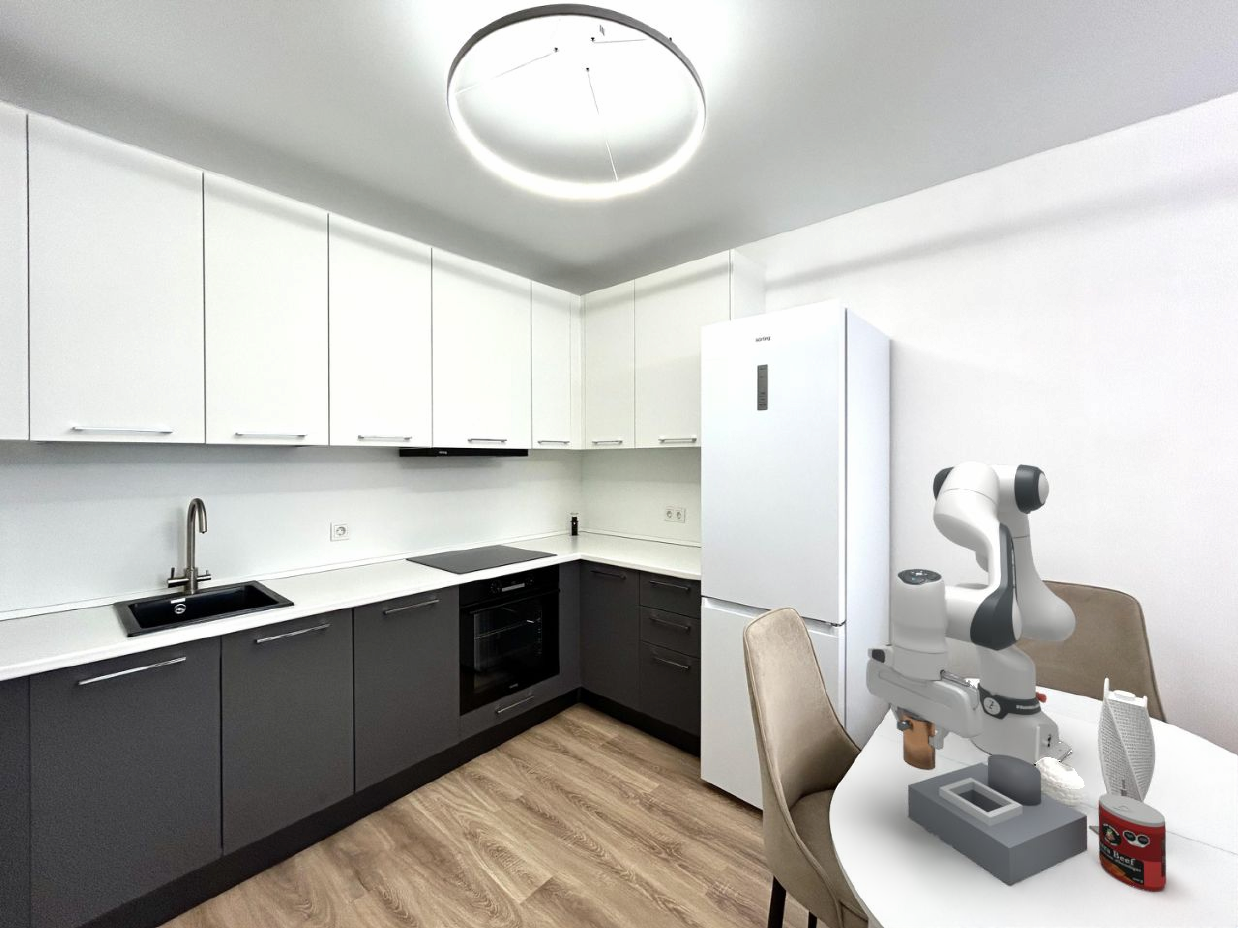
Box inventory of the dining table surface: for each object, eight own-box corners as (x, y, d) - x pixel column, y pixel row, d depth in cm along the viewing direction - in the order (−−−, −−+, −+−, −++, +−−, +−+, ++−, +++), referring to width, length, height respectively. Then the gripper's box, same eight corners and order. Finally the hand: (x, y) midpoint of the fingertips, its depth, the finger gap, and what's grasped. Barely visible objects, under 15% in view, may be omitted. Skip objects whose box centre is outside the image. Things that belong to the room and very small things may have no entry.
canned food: (1086, 858, 88) (1086, 793, 89) (1128, 856, 89) (1127, 792, 89) (1134, 894, 81) (1134, 823, 81) (1180, 891, 81) (1179, 821, 82)
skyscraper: (1082, 822, 98) (1081, 675, 98) (1125, 823, 97) (1124, 676, 98) (1124, 854, 89) (1122, 693, 90) (1172, 856, 89) (1170, 695, 90)
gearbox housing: (981, 791, 107) (981, 738, 107) (1087, 849, 90) (1086, 786, 91) (908, 816, 99) (908, 758, 99) (1009, 885, 82) (1009, 816, 82)
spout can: (915, 751, 95) (915, 703, 95) (942, 766, 90) (942, 715, 90) (887, 759, 92) (887, 709, 92) (914, 775, 87) (914, 722, 88)
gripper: (991, 680, 84) (991, 765, 83) (883, 642, 102) (883, 711, 102) (965, 686, 81) (966, 773, 81) (860, 645, 100) (860, 716, 100)
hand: (919, 738), depth 92 cm, fingers closed on spout can, 5 cm apart
